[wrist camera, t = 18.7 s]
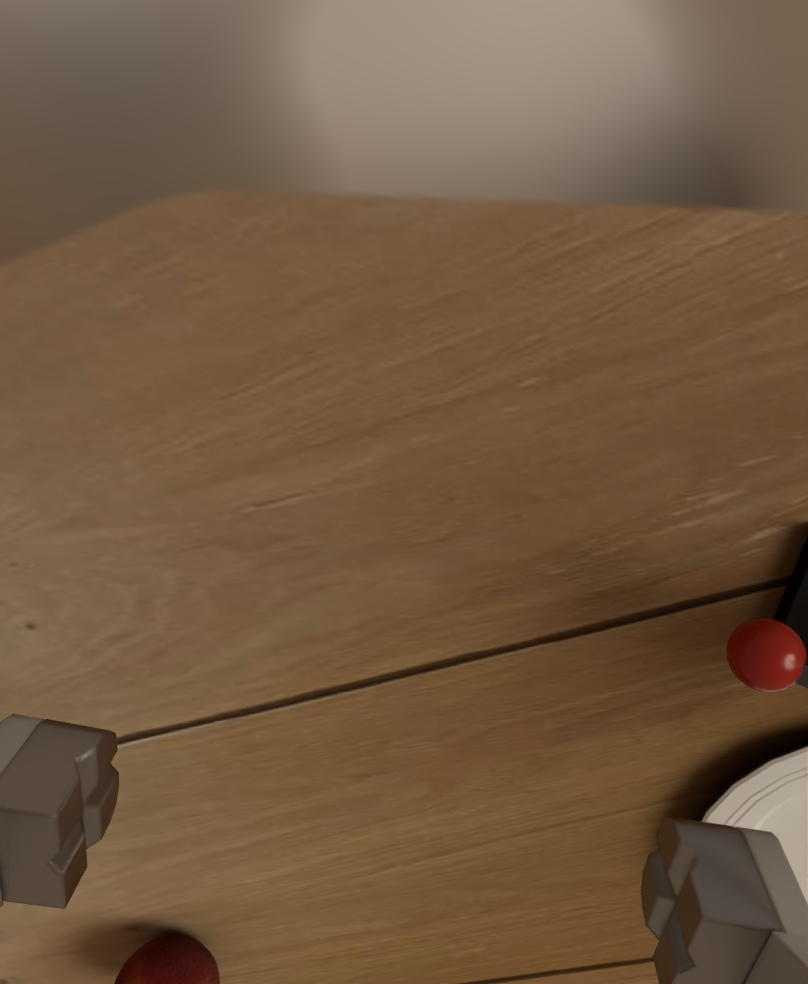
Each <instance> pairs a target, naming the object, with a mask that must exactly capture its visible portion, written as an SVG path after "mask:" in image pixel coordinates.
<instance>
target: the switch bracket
mask: <svg viewBox="0 0 808 984" xmlns="http://www.w3.org/2000/svg"><path fill="white" fill-rule="evenodd" d="M774 620H777V621H780V622H782V623H784V624H786V625H788V626H789V627H790V628H792V629H793V630H794V631H795V632H796V633H797V634H798V635H799V637H800V638H801V640H802V641H803V643H804V646H805V649H806V654H807V656H808V537H807V539H806V541H805V544H804V546H803V549H802V551H801V554H800V556H799V558H798V561H797V563H796V566H795V568H794V571H793V573H792V575H791V578H790V580H789V583H788V585H787V588H786V590H785V592H784V595H783V597H782V600H781V602H780V605H779V607H778V609H777V612H776V614H775V617H774Z"/></svg>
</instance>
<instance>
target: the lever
mask: <svg viewBox="0 0 808 984" xmlns="http://www.w3.org/2000/svg"><path fill="white" fill-rule="evenodd" d="M727 660H728V663H729V666H730V668H731V670H732V671H733V673H734V674H735V676H736V677H737V678H738V679H739V680H740V681H741V682H743V683H744V684H745V685H747V686H749V687H751V688H753V689H755V690H759V691H763V692H778V691H782V690H785V689H787V688H789V687H791V686H793V685H794V684H795V683H797V684H799V685H801V686H804V687H806V688H808V656H807V654H806V649H805V646H804V643H803V641H802V640H801V638H800V637H799V635H798V634H797V633H796V632H795V631H794V630H793V629H792V628H790V627H789V626H788V625H786V624H784V623H782V622H780V621H777V620H774V619H768V618H757V619H752V620H749V621H747V622H745V623H743V624H741V625H740V626H739V627H737V628H736V629H735V630H734V632H733V633H732V635H731V636H730V638H729V641H728V644H727Z"/></svg>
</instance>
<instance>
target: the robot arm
mask: <svg viewBox="0 0 808 984" xmlns="http://www.w3.org/2000/svg"><path fill="white" fill-rule="evenodd" d="M116 752H117V740H116V733H114V732H112V731H109V730H104V729H98V728H93V727H87V726H82V725H77V724H71V723H66V722H60V721H55V720H49V719H40V718H35V717H29V716H24V715H18V714H12V715H10V716H9V717H7V718H5V719H4V720H2V721H1V723H0V907H1V906H3V901H7V902H15V903H23V904H30V905H38V906H46V907H54V908H62V909H65V908H66V906H67V904H68V902H69V900H70V898H71V896H72V894H73V893H74V891H75V889H76V887H77V885H78V883H79V881H80V879H81V877H82V876H83V874H84V872H85V870H86V868H87V854H86V849H88V848H89V847H91V846H92V845H94V844H95V843H97V842H98V841H100V840H101V839H102V837H103V835H104V833H105V831H106V829H107V827H108V825H109V823H110V821H111V818H112V815H113V812H114V809H115V805H116V802H117V797H118V789H119V773H118V772H117V770H116V769H115V768H114V767H113V766H112V764H111V761H112V759H113V757H114V756H115V754H116ZM657 838H658V842H659V846H660V849H658V850H657V851H655V852H654V853H652V854H650V855H649V856H648V858H647V861H646V864H645V867H644V870H643V874H642V885H641V899H642V909H643V914H644V919H645V923H646V926H647V927H648V928H649V929H650V931H651V932H652V933H653V934H654V935H655V937H656V938H657V939H658V940H659V942H658V945H657V947H656V950H655V952H654V954H653V959H654V963H655V968H656V972H657V976H658V981H659V984H808V903H807V901H806V899H805V897H804V895H803V892H802V890H801V888H800V886H799V883H798V881H797V879H796V877H795V875H794V872H793V870H792V868H791V866H790V864H789V861H788V859H787V857H786V855H785V852H784V850H783V848H782V846H781V844H780V841H779V839H778V838H777V837H776V836H775V835H774V834H773V833H772V832H768V831H762V830H755V829H748V828H741V827H733V826H729V825H722V824H715V823H708V822H701V821H694V820H687V819H680V818H673V817H667V818H666V819H665V820H663V821H662V823H661V825H660V827H659V830H658V832H657Z"/></svg>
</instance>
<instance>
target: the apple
mask: <svg viewBox="0 0 808 984" xmlns="http://www.w3.org/2000/svg"><path fill="white" fill-rule="evenodd" d="M114 984H220V981H219V971H218V967H217V964H216V961H215V959H214V957H213V956H212V954H211V953H210V952H209V950H208V949H207V948H205V947H204V946H203V945H202V944H201V943H200V942H198V941H197V940H195V939H193V938H191V937H187V936H183V935H166V936H162V937H159V938H156V939H154V940H152V941H150V942H148V943H146V944H145V945H143V946H142V947H140V948H139V949H138V950H137V951H136V952H135V953H134V954H133V955H132V956H131V957H130V958H129V959H128V960H127V961H126V963H125V964H124V966H123V967H122V969H121V970H120V972H119V974H118V976H117V978H116V981H115V983H114Z"/></svg>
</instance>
